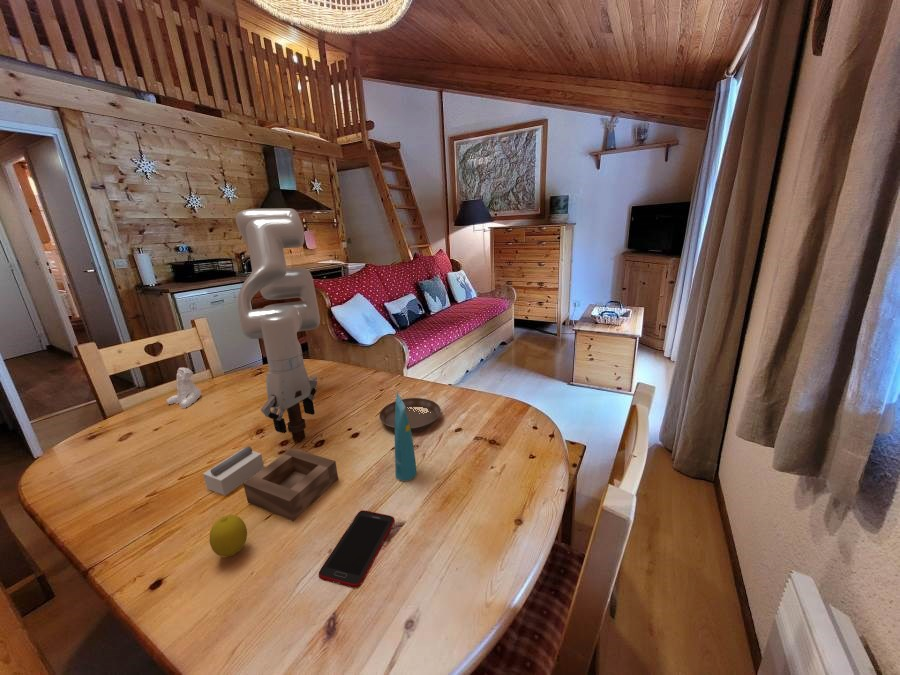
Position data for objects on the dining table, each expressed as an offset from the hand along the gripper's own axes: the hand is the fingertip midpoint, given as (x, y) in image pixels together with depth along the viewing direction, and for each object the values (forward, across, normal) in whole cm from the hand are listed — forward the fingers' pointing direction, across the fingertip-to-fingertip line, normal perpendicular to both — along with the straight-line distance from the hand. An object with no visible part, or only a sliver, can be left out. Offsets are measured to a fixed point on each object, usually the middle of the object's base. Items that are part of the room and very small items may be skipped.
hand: (296, 422), depth 96 cm
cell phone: (+6, +21, +36) cm, 42 cm away
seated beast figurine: (+6, -3, -53) cm, 53 cm away
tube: (+6, +1, +34) cm, 34 cm away
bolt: (+6, 0, 0) cm, 6 cm away
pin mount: (+6, +17, -2) cm, 18 cm away
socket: (+6, +15, +14) cm, 21 cm away
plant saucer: (+6, -20, +23) cm, 31 cm away
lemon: (+6, +31, +16) cm, 35 cm away
